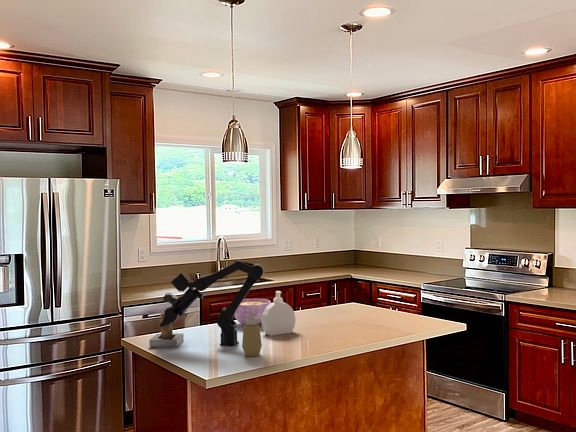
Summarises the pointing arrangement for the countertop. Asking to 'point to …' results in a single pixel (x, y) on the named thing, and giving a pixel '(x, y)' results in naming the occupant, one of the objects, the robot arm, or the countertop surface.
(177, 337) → the socket block
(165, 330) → the walnut peg
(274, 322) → the soap bottle
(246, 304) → the bowl of food
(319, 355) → the countertop surface
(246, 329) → the squeeze bottle
